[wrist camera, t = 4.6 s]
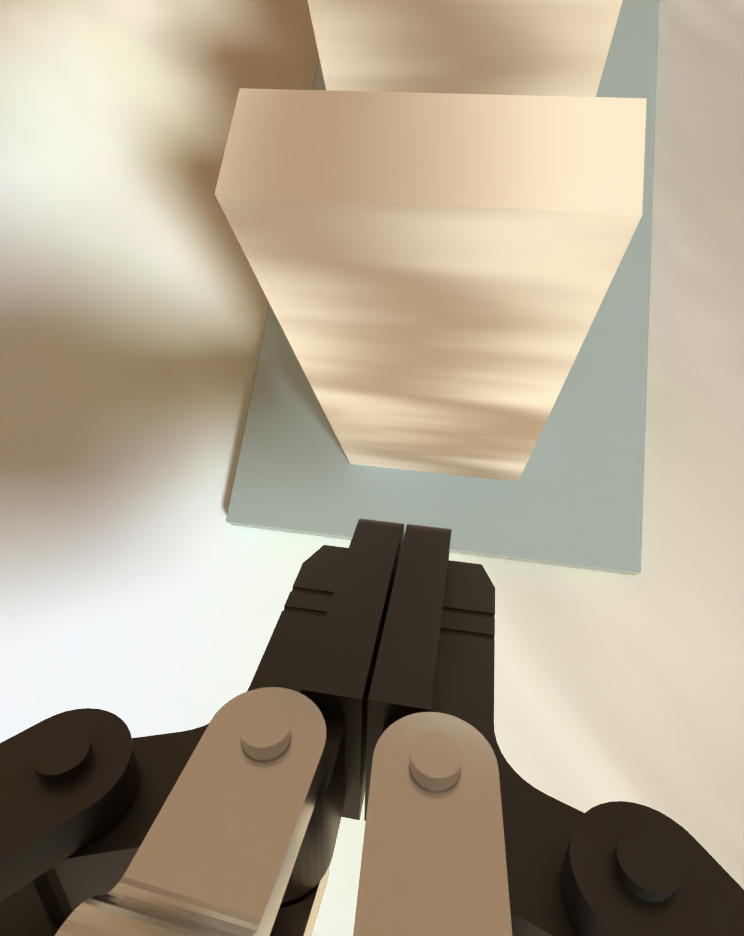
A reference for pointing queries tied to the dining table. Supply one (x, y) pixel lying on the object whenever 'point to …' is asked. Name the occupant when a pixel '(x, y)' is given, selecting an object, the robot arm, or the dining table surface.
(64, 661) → the dining table surface
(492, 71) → the domino
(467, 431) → the domino
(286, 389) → the domino board
